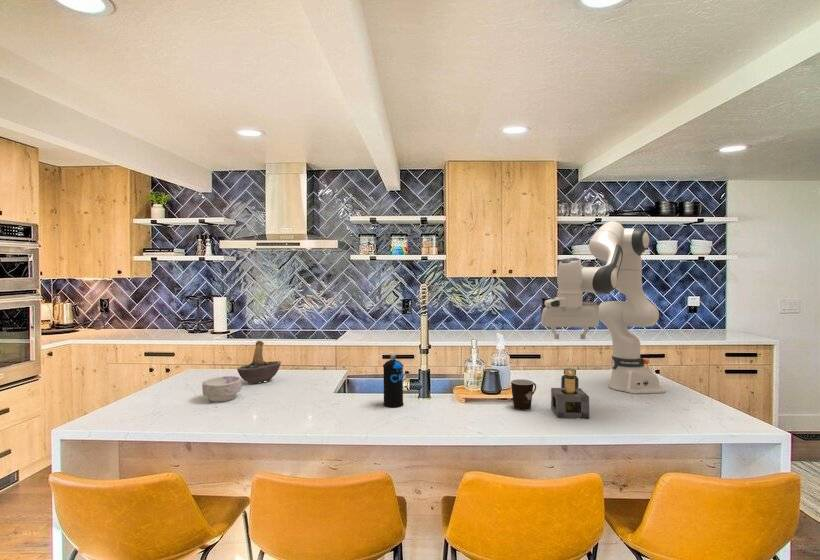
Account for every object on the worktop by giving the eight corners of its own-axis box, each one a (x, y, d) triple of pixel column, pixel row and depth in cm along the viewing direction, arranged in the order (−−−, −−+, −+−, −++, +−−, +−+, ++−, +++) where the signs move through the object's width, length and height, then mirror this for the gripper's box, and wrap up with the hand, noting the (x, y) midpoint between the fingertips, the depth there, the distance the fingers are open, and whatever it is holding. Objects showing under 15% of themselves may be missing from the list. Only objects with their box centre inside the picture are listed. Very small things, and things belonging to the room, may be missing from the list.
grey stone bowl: (194, 402, 182) (193, 383, 182) (219, 392, 197) (219, 374, 197) (225, 405, 178) (225, 385, 178) (249, 395, 193) (248, 376, 193)
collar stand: (580, 409, 171) (580, 388, 171) (589, 418, 160) (589, 396, 160) (551, 408, 172) (551, 387, 172) (557, 417, 161) (557, 395, 161)
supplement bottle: (579, 401, 181) (579, 371, 181) (562, 400, 183) (562, 371, 183) (577, 396, 188) (577, 368, 188) (560, 395, 190) (560, 367, 189)
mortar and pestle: (282, 379, 221) (282, 338, 220) (264, 387, 204) (263, 344, 204) (255, 377, 224) (255, 337, 223) (235, 386, 208) (234, 343, 207)
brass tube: (573, 412, 168) (573, 369, 167) (576, 415, 164) (576, 372, 164) (563, 411, 168) (563, 369, 168) (565, 414, 164) (566, 371, 164)
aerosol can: (378, 404, 178) (378, 355, 177) (393, 400, 184) (393, 352, 183) (393, 409, 172) (393, 357, 172) (407, 404, 178) (407, 354, 178)
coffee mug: (516, 411, 168) (516, 385, 168) (507, 404, 177) (507, 379, 177) (544, 410, 170) (544, 384, 170) (535, 403, 179) (535, 378, 179)
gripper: (596, 301, 167) (596, 337, 167) (540, 301, 169) (540, 337, 170) (601, 302, 161) (601, 340, 161) (543, 302, 163) (543, 340, 163)
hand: (569, 339), depth 165 cm, fingers open, 8 cm apart
